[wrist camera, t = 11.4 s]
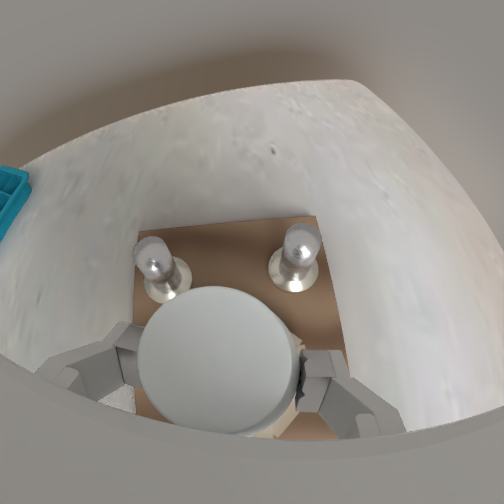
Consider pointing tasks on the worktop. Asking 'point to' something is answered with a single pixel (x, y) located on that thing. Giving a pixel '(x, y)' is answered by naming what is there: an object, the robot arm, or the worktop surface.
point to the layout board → (259, 286)
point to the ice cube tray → (12, 195)
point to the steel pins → (280, 265)
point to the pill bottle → (218, 362)
